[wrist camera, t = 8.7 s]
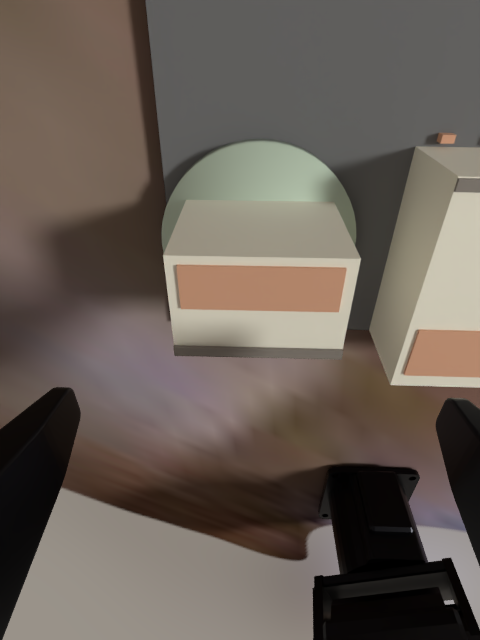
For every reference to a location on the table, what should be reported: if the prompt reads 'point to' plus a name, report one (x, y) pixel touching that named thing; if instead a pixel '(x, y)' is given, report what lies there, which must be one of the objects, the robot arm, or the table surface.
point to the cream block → (260, 279)
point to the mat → (321, 94)
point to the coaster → (258, 180)
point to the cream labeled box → (433, 275)
